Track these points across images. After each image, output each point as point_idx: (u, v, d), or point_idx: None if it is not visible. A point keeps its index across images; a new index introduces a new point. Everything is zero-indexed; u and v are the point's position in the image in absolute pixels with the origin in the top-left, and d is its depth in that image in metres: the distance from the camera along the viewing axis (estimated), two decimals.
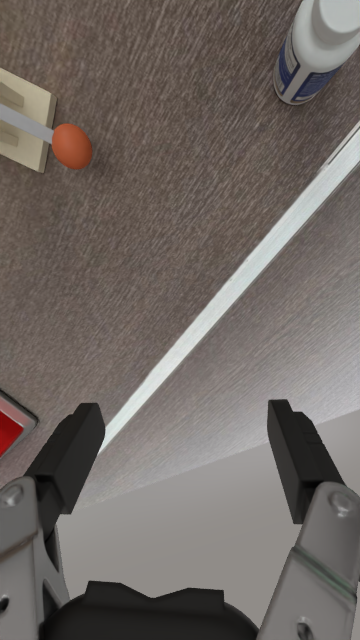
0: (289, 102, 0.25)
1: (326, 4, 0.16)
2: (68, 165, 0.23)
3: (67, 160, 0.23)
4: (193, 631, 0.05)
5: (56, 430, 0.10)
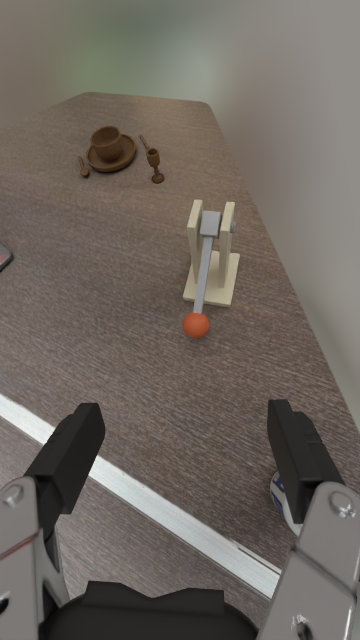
0: (270, 489, 0.30)
1: None
2: (183, 323, 0.33)
3: (185, 323, 0.32)
4: (193, 631, 0.05)
5: (56, 430, 0.10)
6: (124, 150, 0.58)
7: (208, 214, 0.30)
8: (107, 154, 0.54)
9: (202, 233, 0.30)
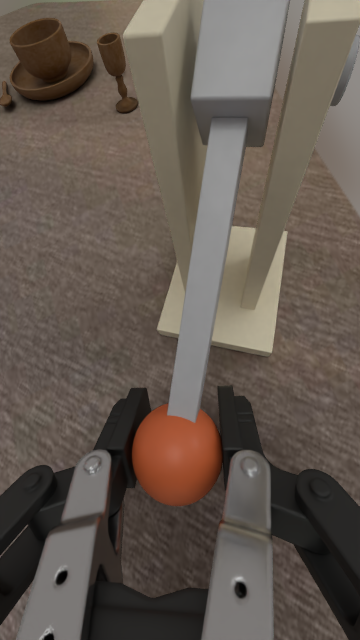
0: None
1: None
2: (132, 451, 0.09)
3: (137, 458, 0.09)
4: (193, 631, 0.05)
5: (112, 412, 0.11)
6: (75, 68, 0.35)
7: None
8: (39, 65, 0.31)
9: (202, 95, 0.07)
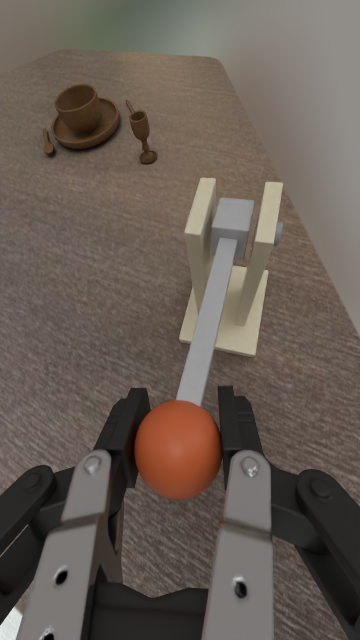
0: None
1: None
2: (138, 432, 0.10)
3: (146, 429, 0.09)
4: (193, 631, 0.05)
5: (112, 412, 0.11)
6: (104, 120, 0.43)
7: (230, 202, 0.15)
8: (78, 123, 0.39)
9: (217, 226, 0.14)
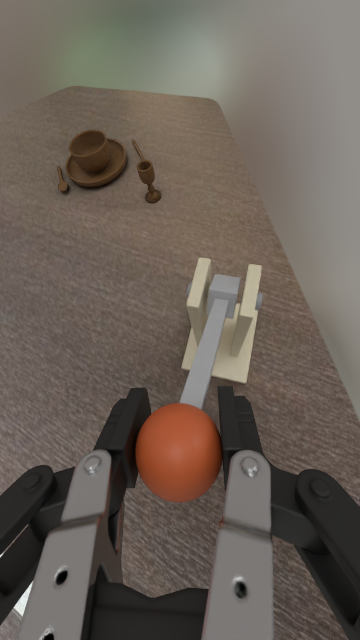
0: None
1: None
2: (142, 426, 0.10)
3: (152, 419, 0.10)
4: (193, 631, 0.05)
5: (112, 412, 0.11)
6: (112, 159, 0.47)
7: (223, 276, 0.20)
8: (90, 165, 0.44)
9: (213, 289, 0.19)
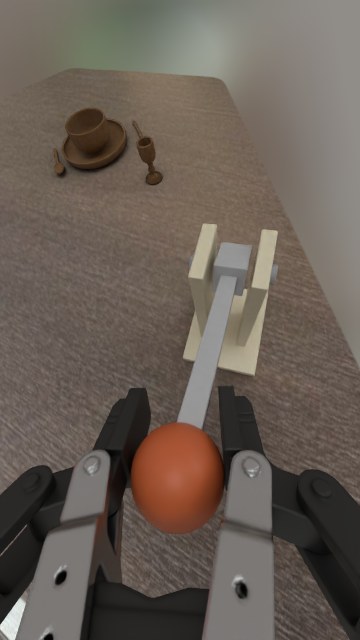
0: None
1: None
2: (136, 454, 0.09)
3: (145, 449, 0.09)
4: (193, 631, 0.05)
5: (111, 412, 0.11)
6: (111, 140, 0.45)
7: (231, 246, 0.17)
8: (87, 145, 0.41)
9: (219, 264, 0.16)
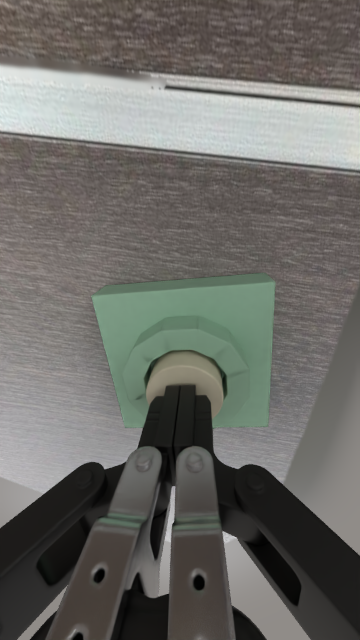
0: None
1: None
2: None
3: None
4: None
5: (150, 410, 0.11)
6: None
7: None
8: None
9: None
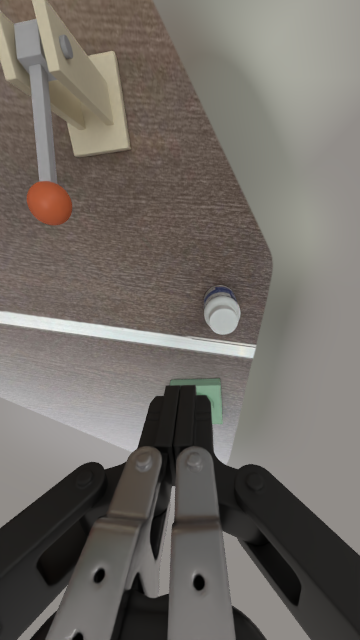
0: None
1: (215, 315, 0.33)
2: (27, 201, 0.21)
3: (27, 196, 0.21)
4: None
5: (150, 410, 0.11)
6: None
7: (21, 26, 0.20)
8: None
9: (20, 56, 0.20)
